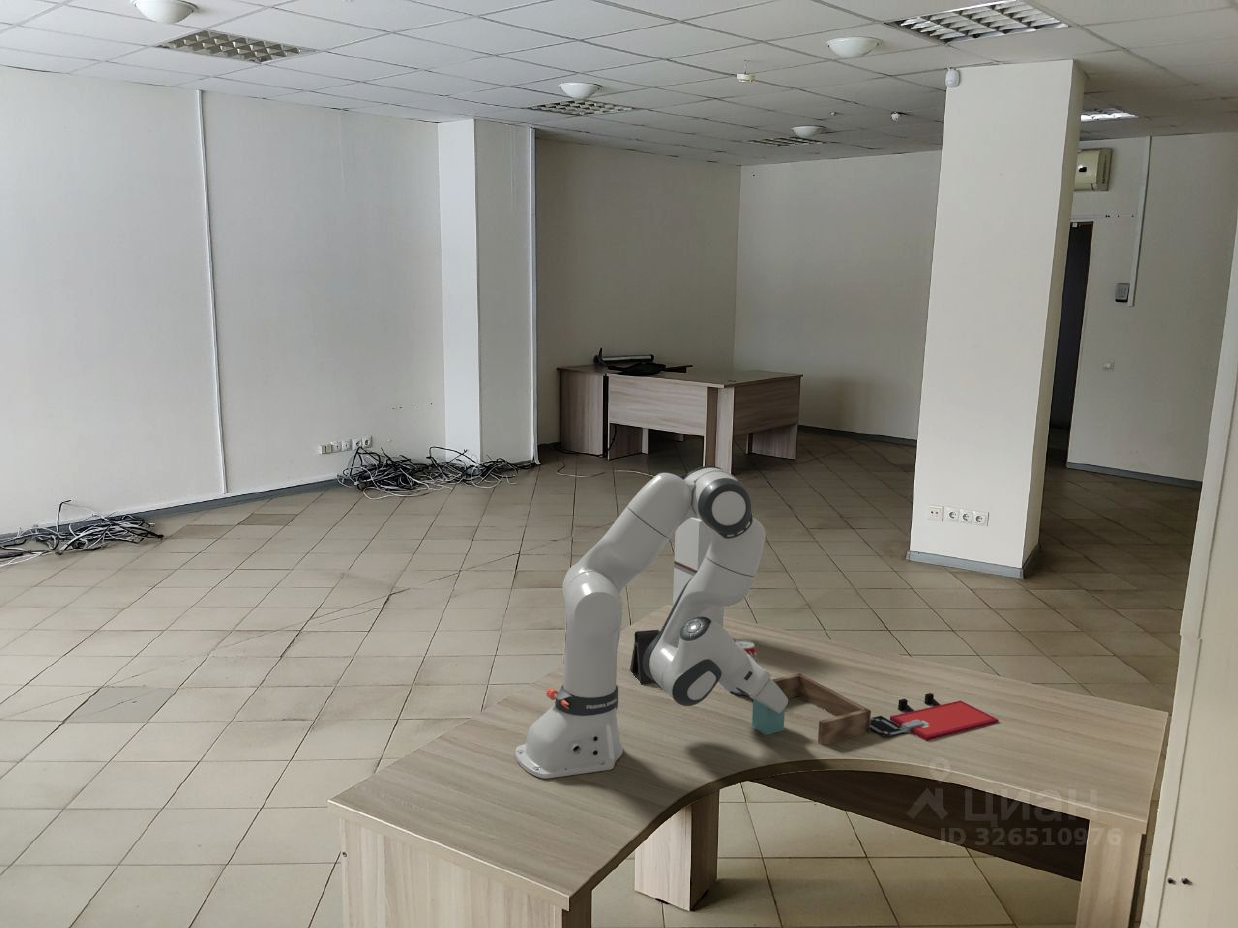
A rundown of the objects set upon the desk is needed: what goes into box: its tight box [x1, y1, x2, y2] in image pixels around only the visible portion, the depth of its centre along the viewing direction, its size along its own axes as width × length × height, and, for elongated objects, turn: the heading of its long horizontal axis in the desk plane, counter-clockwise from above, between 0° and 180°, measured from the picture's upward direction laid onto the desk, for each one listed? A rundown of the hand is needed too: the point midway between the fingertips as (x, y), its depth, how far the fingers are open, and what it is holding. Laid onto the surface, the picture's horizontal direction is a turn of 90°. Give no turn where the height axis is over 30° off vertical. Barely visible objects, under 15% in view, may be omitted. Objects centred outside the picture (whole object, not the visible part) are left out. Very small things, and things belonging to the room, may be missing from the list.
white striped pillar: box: [672, 517, 725, 628], centre depth 270 cm, size 11×11×35 cm
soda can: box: [730, 639, 758, 696], centre depth 234 cm, size 7×7×12 cm
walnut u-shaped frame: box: [771, 672, 872, 746], centre depth 220 cm, size 14×24×5 cm, turn 30°
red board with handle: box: [870, 692, 1000, 742], centre depth 220 cm, size 30×3×15 cm
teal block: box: [751, 698, 786, 735], centre depth 214 cm, size 5×5×8 cm
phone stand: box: [629, 629, 661, 685], centre depth 241 cm, size 9×6×12 cm, turn 17°
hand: (768, 703), depth 213 cm, fingers open, 6 cm apart
